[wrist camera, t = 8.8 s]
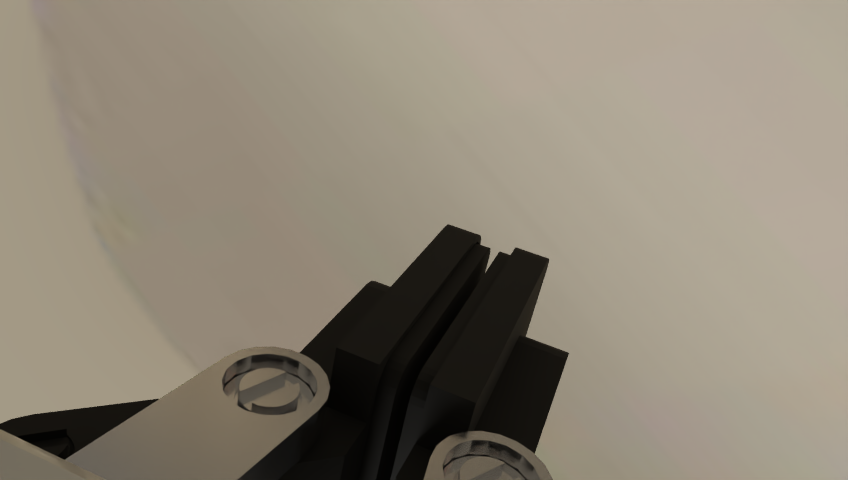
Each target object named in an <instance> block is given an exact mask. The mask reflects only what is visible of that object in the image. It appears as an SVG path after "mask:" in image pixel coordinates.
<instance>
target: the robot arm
mask: <svg viewBox="0 0 848 480" xmlns="http://www.w3.org/2000/svg"><path fill="white" fill-rule="evenodd" d="M480 243H481V236H480V235H478V234H475V233H472V232H469V231H466V230H463V229H460V228H457V227H454V226H451V225H449V224H448V225H446V226H445V227H444V228H443V230H442V231H441V232H440V233H439V234H438V235H437V236H436V237H435V238H434V240H433V241H432V242H431V243H430V244H429V245H428V246H427V247H426V248H425V250H424V251H423V252H422V253H421V254H420V255H419V256H418V257H417V258H416V260H415V261H414V262H413V263H412V264H411V265H410V266H409V267H408V268H407V269H406V271H405V272H404V273H403V274H402V275H401V276H400V277H399V278H398V279H397V281H396V282H395V283H394V284H393V285H392V286H391V287H389V286H387V285H384V284H381V283H378V282H376V281H371V282H369V283H368V284H366V285H365V286H364V287H363V289H362V290H361V291H360V292H359V293H358V294H357V295H356V296H355V297H354V298H353V299H352V300H351V301H350V302H349V303H348V304H347V305H346V306H345V307H344V308H343V309H342V310H341V311H340V312H339V313H338V314H337V315H336V316H335V317H334V318H333V319H332V320H331V321H330V322H329V323H328V324H327V325H326V326H325V327H324V328H323V329H322V330H321V331H320V333H319V334H318V335H317V336H316V337H315V338H314V339H313V340H312V341H311V342H310V343H309V344H308V345H307V346H306V347H305V348H304V349H303V350H302V351H301V352H300V353H298V352H295V351H293V350H289V349H283V348H278V347H254V348H249V349H244V350H239V351H237V352H235V353H233V354H231V355H228V356H226V357H224V358H223V359H221V360H220V361H218V362H217V363H215V364H213V365H212V366H210V367H209V368H207V369H206V370H204V371H202V372H201V373H199V374H198V375H196V376H195V377H193V378H192V379H190V380H188V381H187V382H185V383H184V384H182V385H181V386H179V387H178V388H176V389H174V390H173V391H171V392H170V393H168V394H167V395H165V396H163V397H162V398H160V399H153V400H145V401H138V402H129V403H121V404H113V405H105V406H97V407H89V408H81V409H73V410H65V411H57V412H49V413H41V414H33V415H28V416H24V417H20V418H15V419H11V420H8V421H6V422H4V423H1V424H0V480H553V479H552V477H551V475H550V473H549V471H548V469H547V468H546V466H545V465H544V463H543V462H542V461H541V460H540V459H539V458H538V457H537V456H536V455H535V451H536V448H537V445H538V442H539V439H540V436H541V433H542V430H543V427H544V424H545V422H546V419H547V416H548V413H549V410H550V407H551V404H552V401H553V398H554V395H555V392H556V389H557V386H558V383H559V381H560V378H561V375H562V372H563V369H564V366H565V363H566V360H567V357H568V354H569V353H568V352H565V351H562V350H560V349H557V348H554V347H551V346H549V345H546V344H543V343H541V342H538V341H535V340H533V339H530V338H527V337H526V334H527V330H528V327H529V324H530V321H531V318H532V315H533V311H534V308H535V305H536V302H537V299H538V296H539V292H540V289H541V286H542V283H543V280H544V277H545V273H546V270H547V267H548V263H549V259H548V258H545V257H542V256H539V255H536V254H533V253H530V252H528V251H525V250H522V249H519V248H515V249H514V251H513V252H512V254H511V255H508V254H505V253H502V252H499V253H498V255H497V256H496V258H495V259H494V261H493V262H492V264H491V265H490V267H489V268H488V270H487V271H486V267H487V263H488V259H489V255H490V248H488V247H485V246H482V245H480ZM485 271H486V273H485Z"/></svg>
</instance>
